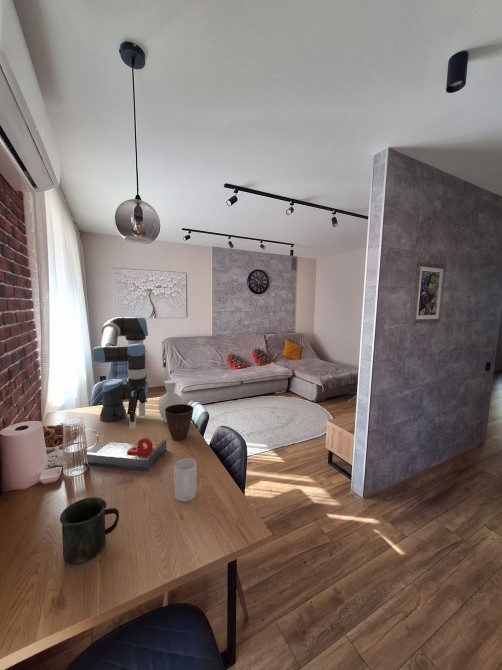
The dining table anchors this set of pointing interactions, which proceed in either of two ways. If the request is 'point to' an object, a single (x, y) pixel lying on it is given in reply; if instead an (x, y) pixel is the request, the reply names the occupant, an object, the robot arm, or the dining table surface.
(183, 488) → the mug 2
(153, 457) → the tray
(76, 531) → the mug
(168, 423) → the plant pot
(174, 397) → the vase
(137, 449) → the bracket
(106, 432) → the dining table surface
